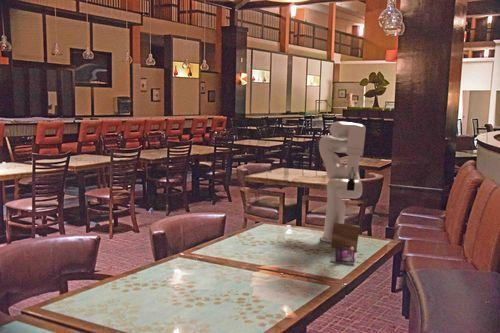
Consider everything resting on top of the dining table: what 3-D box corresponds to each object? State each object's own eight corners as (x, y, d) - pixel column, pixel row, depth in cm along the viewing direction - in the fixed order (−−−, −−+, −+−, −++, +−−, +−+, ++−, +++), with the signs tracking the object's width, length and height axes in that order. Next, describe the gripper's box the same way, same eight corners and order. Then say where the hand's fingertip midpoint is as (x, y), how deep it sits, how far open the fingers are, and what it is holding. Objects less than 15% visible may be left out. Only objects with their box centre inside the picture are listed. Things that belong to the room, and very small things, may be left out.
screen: (331, 246, 247) (333, 222, 246) (356, 250, 245) (359, 225, 244) (330, 248, 245) (333, 223, 244) (356, 251, 243) (359, 226, 242)
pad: (331, 257, 231) (331, 255, 231) (354, 260, 229) (354, 259, 229) (330, 262, 223) (330, 260, 223) (353, 265, 221) (353, 264, 221)
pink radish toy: (335, 246, 222) (354, 246, 225) (330, 246, 227) (349, 246, 230) (336, 261, 221) (355, 261, 223) (331, 262, 226) (350, 262, 228)
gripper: (346, 149, 242) (342, 185, 245) (345, 152, 226) (341, 190, 228) (363, 151, 241) (358, 186, 243) (363, 154, 224) (358, 192, 226)
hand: (350, 188), depth 236 cm, fingers open, 9 cm apart
